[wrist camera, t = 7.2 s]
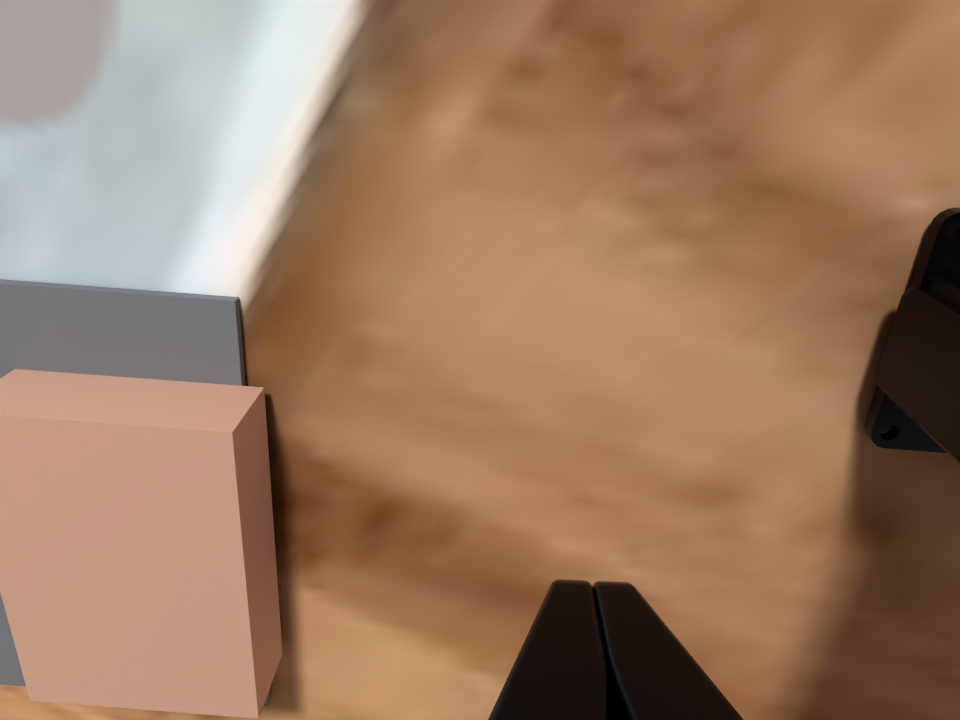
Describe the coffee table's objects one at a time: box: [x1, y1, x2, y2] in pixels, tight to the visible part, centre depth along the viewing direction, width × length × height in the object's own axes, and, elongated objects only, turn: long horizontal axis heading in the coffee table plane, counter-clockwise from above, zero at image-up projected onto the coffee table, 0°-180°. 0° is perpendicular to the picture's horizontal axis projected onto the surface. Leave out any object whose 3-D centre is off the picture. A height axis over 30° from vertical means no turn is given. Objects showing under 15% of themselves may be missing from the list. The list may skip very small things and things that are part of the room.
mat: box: [0, 280, 270, 706], centre depth 22 cm, size 12×15×1 cm
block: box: [0, 369, 283, 719], centre depth 21 cm, size 2×10×7 cm
